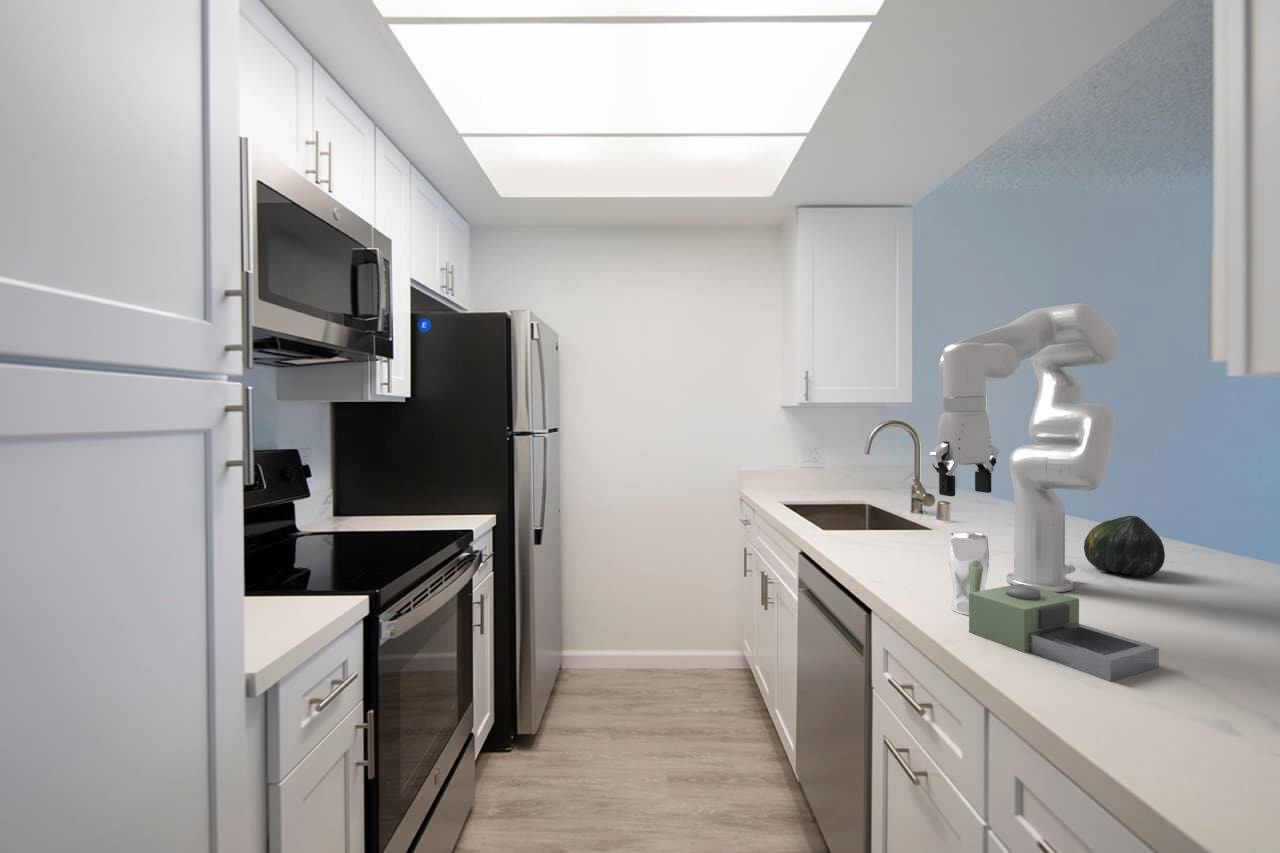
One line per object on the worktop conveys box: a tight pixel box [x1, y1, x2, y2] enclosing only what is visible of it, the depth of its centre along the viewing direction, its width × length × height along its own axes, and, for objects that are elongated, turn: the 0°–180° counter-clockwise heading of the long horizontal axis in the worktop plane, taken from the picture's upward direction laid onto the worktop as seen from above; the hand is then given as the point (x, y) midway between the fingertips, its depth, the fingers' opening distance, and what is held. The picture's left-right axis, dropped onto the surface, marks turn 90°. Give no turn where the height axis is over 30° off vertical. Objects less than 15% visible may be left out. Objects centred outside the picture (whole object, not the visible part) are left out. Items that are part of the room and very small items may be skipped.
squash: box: [1083, 515, 1166, 578], centre depth 143 cm, size 14×15×15 cm
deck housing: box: [968, 584, 1080, 653], centre depth 104 cm, size 14×11×8 cm
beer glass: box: [948, 531, 990, 616], centre depth 117 cm, size 7×7×15 cm
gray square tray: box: [1028, 622, 1160, 682], centre depth 94 cm, size 12×12×3 cm
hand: (965, 493), depth 117 cm, fingers open, 9 cm apart
